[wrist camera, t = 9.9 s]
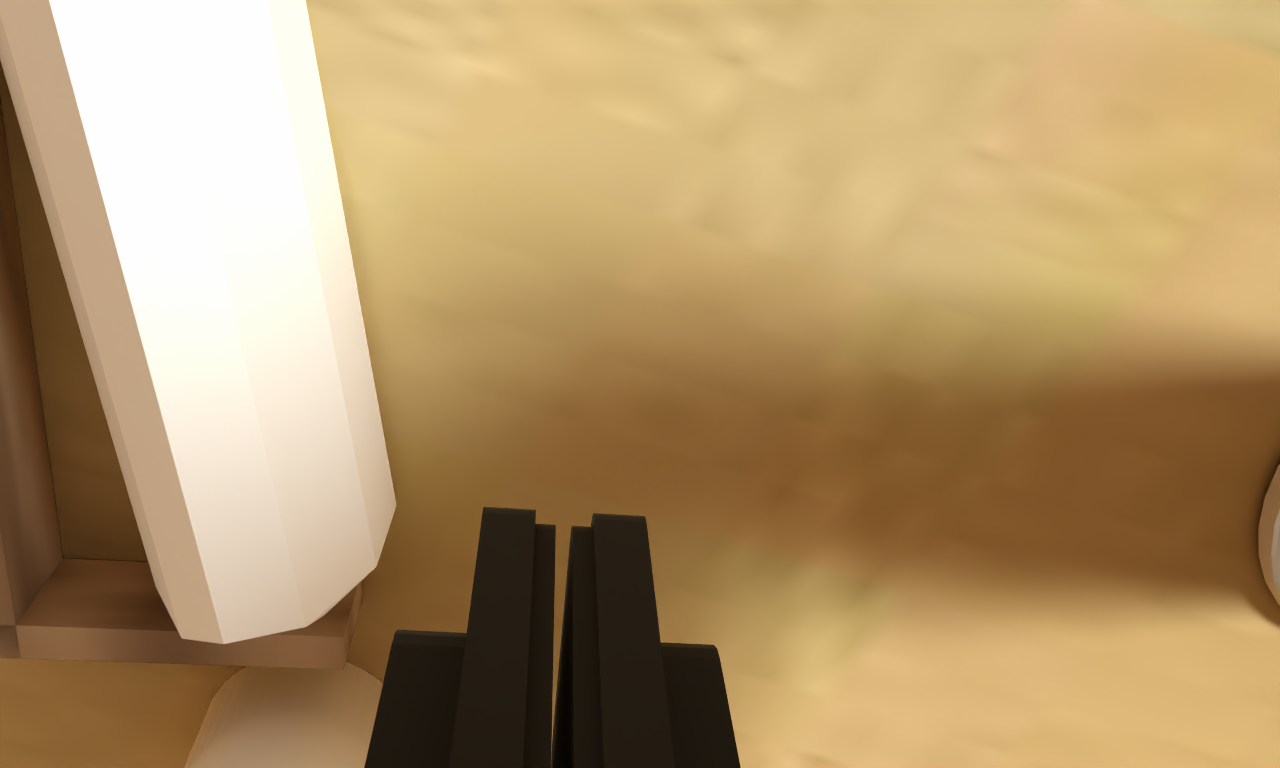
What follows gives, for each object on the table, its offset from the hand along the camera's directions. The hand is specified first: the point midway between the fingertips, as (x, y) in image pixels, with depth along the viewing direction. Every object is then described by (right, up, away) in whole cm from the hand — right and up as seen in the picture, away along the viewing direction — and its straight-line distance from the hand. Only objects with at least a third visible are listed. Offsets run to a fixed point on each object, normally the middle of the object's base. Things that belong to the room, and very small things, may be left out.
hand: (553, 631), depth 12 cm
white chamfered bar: (-11, +8, +21) cm, 25 cm away
